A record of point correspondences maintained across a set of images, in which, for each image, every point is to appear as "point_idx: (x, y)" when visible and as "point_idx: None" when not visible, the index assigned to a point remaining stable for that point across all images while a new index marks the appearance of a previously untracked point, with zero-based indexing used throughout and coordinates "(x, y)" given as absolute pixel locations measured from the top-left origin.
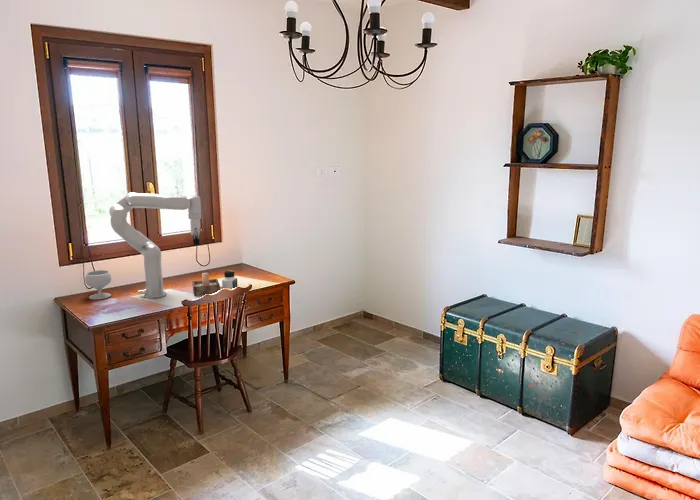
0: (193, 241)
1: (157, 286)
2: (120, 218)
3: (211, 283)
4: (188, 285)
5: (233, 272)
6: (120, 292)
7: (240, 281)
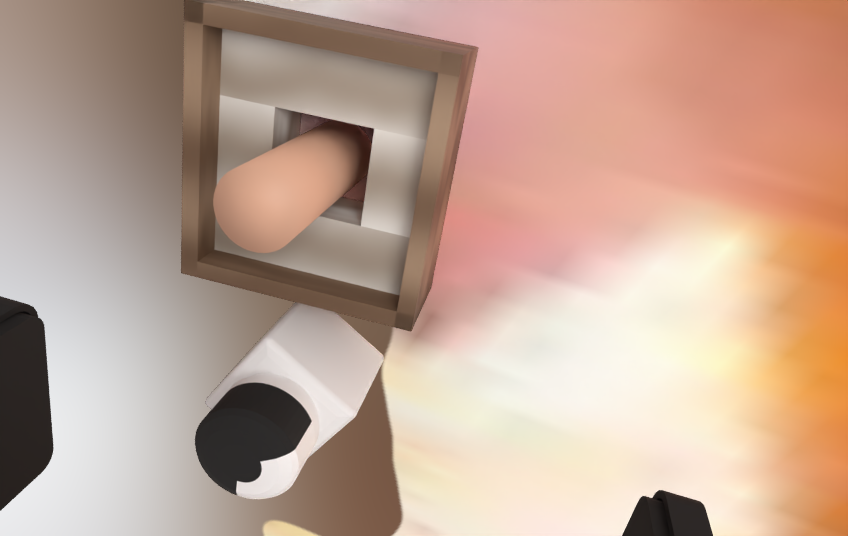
0: (649, 507)
1: None
2: None
3: (384, 247)
4: (721, 55)
5: (214, 480)
6: None
7: (521, 511)
